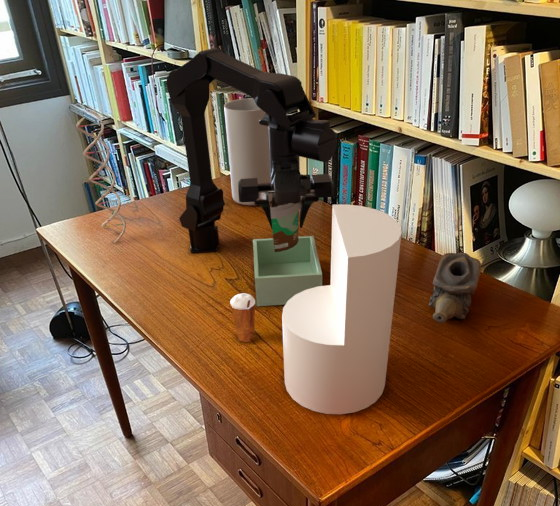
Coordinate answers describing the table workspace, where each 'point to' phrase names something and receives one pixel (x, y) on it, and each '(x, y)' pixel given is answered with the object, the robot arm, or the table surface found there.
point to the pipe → (454, 286)
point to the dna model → (97, 138)
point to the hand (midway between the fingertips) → (286, 228)
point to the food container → (285, 224)
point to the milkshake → (244, 316)
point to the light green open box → (285, 270)
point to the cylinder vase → (247, 144)
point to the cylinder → (345, 317)
